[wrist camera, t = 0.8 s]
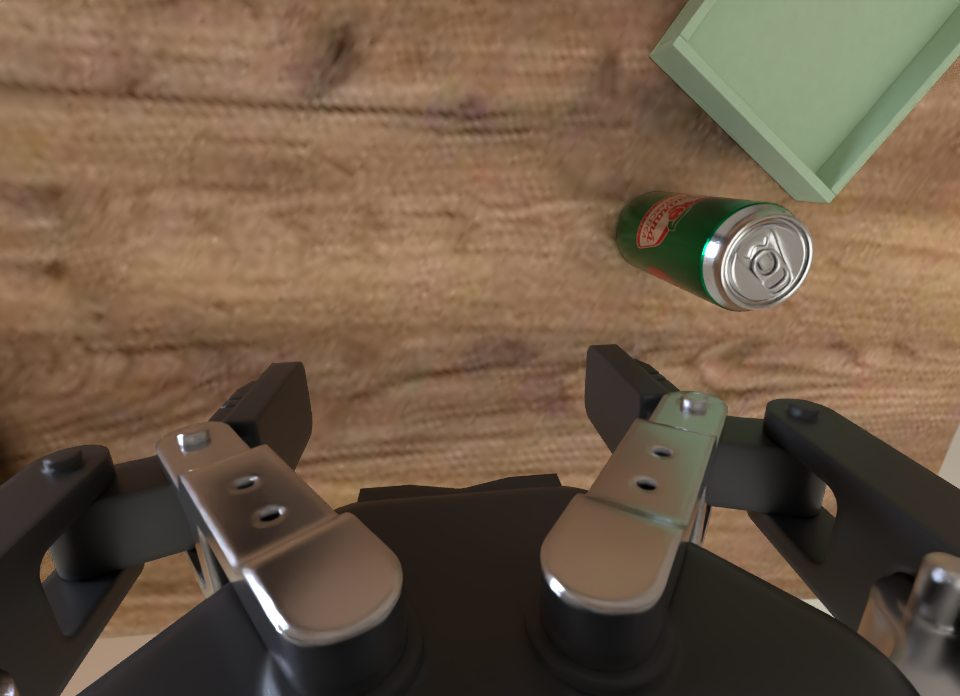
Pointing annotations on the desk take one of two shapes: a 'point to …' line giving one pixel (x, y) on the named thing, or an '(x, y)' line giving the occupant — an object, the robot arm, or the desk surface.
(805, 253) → the soda can
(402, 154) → the desk surface
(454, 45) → the desk surface
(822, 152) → the tray
